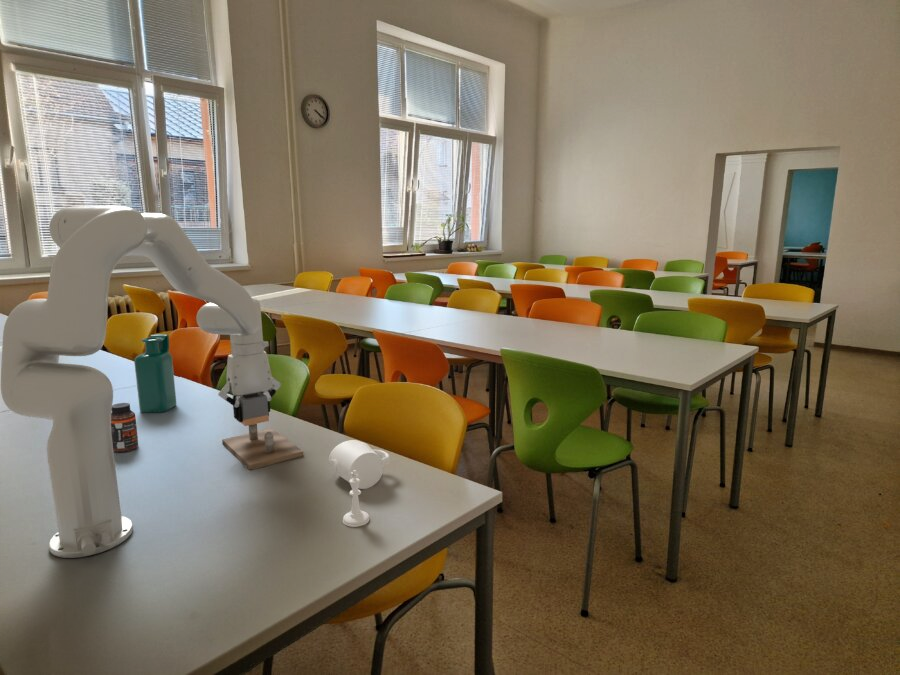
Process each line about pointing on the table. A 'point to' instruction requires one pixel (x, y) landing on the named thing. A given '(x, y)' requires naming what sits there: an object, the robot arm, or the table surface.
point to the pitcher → (155, 375)
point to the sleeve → (254, 408)
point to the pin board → (261, 448)
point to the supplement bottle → (123, 428)
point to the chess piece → (355, 506)
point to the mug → (358, 462)
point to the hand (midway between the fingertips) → (252, 417)
